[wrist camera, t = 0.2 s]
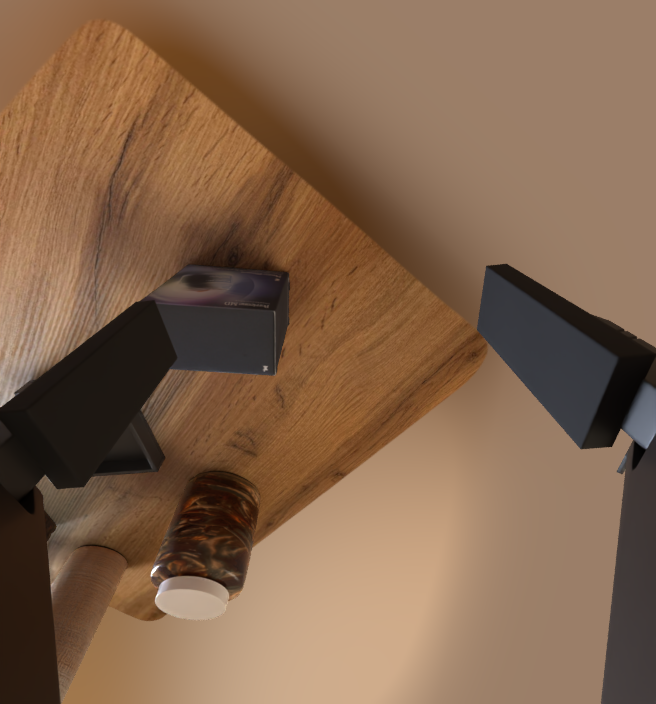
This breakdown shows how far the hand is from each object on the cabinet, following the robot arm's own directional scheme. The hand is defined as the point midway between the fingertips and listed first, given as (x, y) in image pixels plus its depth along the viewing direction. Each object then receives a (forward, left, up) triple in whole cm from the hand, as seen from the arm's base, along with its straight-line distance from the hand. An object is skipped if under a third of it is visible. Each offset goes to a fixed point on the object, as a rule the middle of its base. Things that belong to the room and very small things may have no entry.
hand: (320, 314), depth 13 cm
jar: (+39, -20, -21) cm, 49 cm away
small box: (+6, -10, -21) cm, 24 cm away
